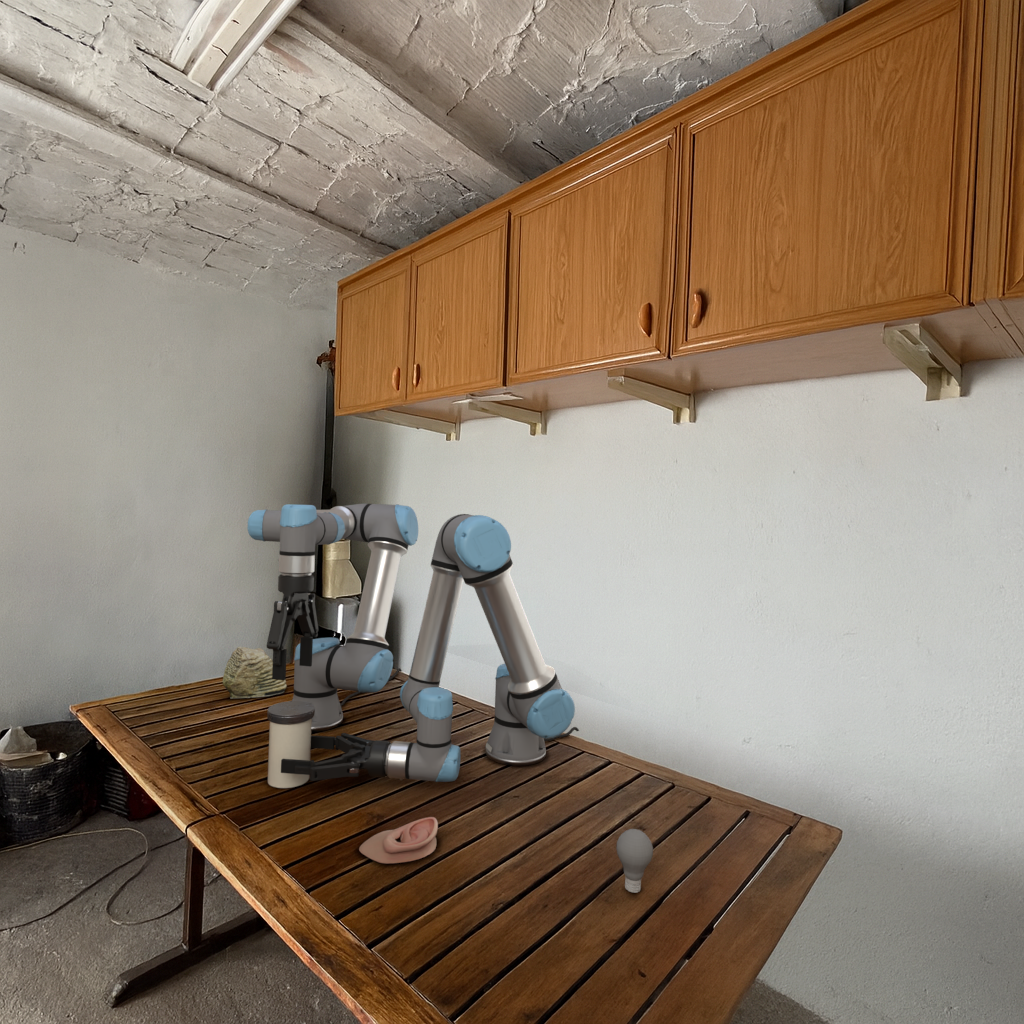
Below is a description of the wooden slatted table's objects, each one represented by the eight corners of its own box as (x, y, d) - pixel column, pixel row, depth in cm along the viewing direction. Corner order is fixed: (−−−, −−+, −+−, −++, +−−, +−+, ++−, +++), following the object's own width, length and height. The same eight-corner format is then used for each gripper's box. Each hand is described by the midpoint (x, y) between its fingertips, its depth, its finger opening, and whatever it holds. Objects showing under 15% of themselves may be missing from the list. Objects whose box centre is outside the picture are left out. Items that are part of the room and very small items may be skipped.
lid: (323, 713, 144) (324, 705, 144) (293, 727, 135) (293, 718, 135) (289, 706, 148) (289, 698, 147) (257, 719, 138) (257, 710, 138)
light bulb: (610, 879, 108) (613, 822, 108) (644, 879, 109) (647, 822, 109) (619, 902, 102) (622, 840, 102) (655, 901, 103) (658, 840, 103)
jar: (317, 775, 144) (320, 707, 143) (290, 791, 136) (293, 719, 135) (286, 767, 147) (289, 701, 147) (258, 782, 139) (261, 712, 139)
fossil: (218, 695, 195) (220, 647, 195) (278, 685, 208) (279, 640, 207) (228, 703, 189) (230, 653, 188) (289, 692, 201) (290, 645, 201)
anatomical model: (352, 836, 111) (378, 805, 123) (351, 858, 111) (377, 826, 123) (423, 847, 109) (444, 815, 120) (422, 870, 109) (443, 836, 120)
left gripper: (306, 567, 153) (303, 658, 153) (250, 578, 130) (246, 685, 130) (335, 569, 151) (332, 660, 152) (284, 581, 128) (280, 688, 129)
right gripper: (372, 803, 126) (269, 795, 128) (401, 753, 151) (314, 747, 153) (374, 766, 126) (270, 759, 128) (403, 722, 151) (316, 716, 152)
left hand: (292, 672), depth 141 cm, fingers open, 11 cm apart
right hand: (294, 752), depth 140 cm, fingers open, 13 cm apart
